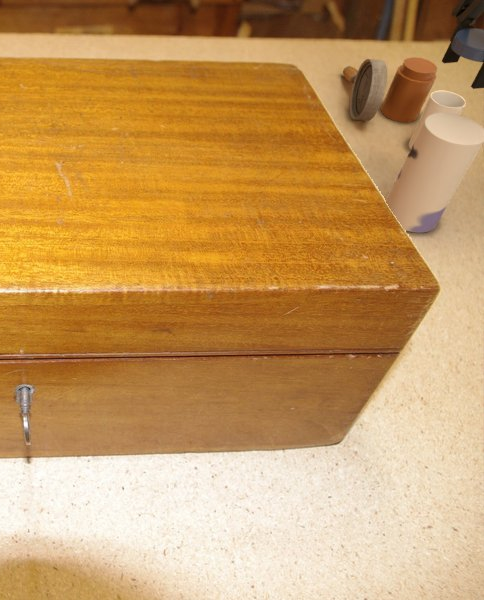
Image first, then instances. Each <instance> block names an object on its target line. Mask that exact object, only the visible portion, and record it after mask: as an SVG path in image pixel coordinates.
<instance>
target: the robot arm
mask: <svg viewBox="0 0 484 600" xmlns="http://www.w3.org/2000/svg"><path fill="white" fill-rule="evenodd" d="M483 13H484V0H458V2H457V3H456V5H455V6H454V7H453V9H452V12H451V16H452V17H455V19H456V21H455V22H456V26H455V28H454V29H453V32H452V34H451V36H450V38H449V41H450V42H449V45H448V47H447V48H446V51H445V53H444V55H443V57H442V59H441V62H442V64H452V63H458V62H459V60H460V58H461V56H459V55H458V54H456V53H455V52H454V51H453V50H452V48H451V43H452V41H453V39H454V37H455V36H456V34H457V32H458V31H460V30H462V29H467V28H476V27H475V26H474V24H476V23H477V21H476V20H477V19H478V18H479V17H480V16H481V15H482V14H483ZM470 88H471V89H473V90H476V89H484V62H482V64H481V66H480V68H479V70H478V72H477V74H476V76H475V77H474V79H473V81H472V83H471V85H470Z"/></svg>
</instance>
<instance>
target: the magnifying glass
mask: <svg viewBox="0 0 484 600" xmlns="http://www.w3.org/2000/svg"><path fill="white" fill-rule="evenodd" d="M342 75H343V77H344V79H345V80H346V81H347V82H348V83H350V84H352V88H351V93H350V99H349V115H350V117H351V119H352V120H355V121H361V122H362V121H363V122H370V121H372V120H373V119H374V117H375V116H376V115H377V113H378V111H379V110H380V108H381V106H382V103H383V100H384V96H385V92H386V88H387V81H388V67H387V63H386V62H385V60H382V59H375V58H374V59H373V58H367V59H365V60H364V61H363V62H361V64H360V66H359V68H358V69H356V67H353V66H351V65H347V66H345V67H344V68H343V70H342Z"/></svg>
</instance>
